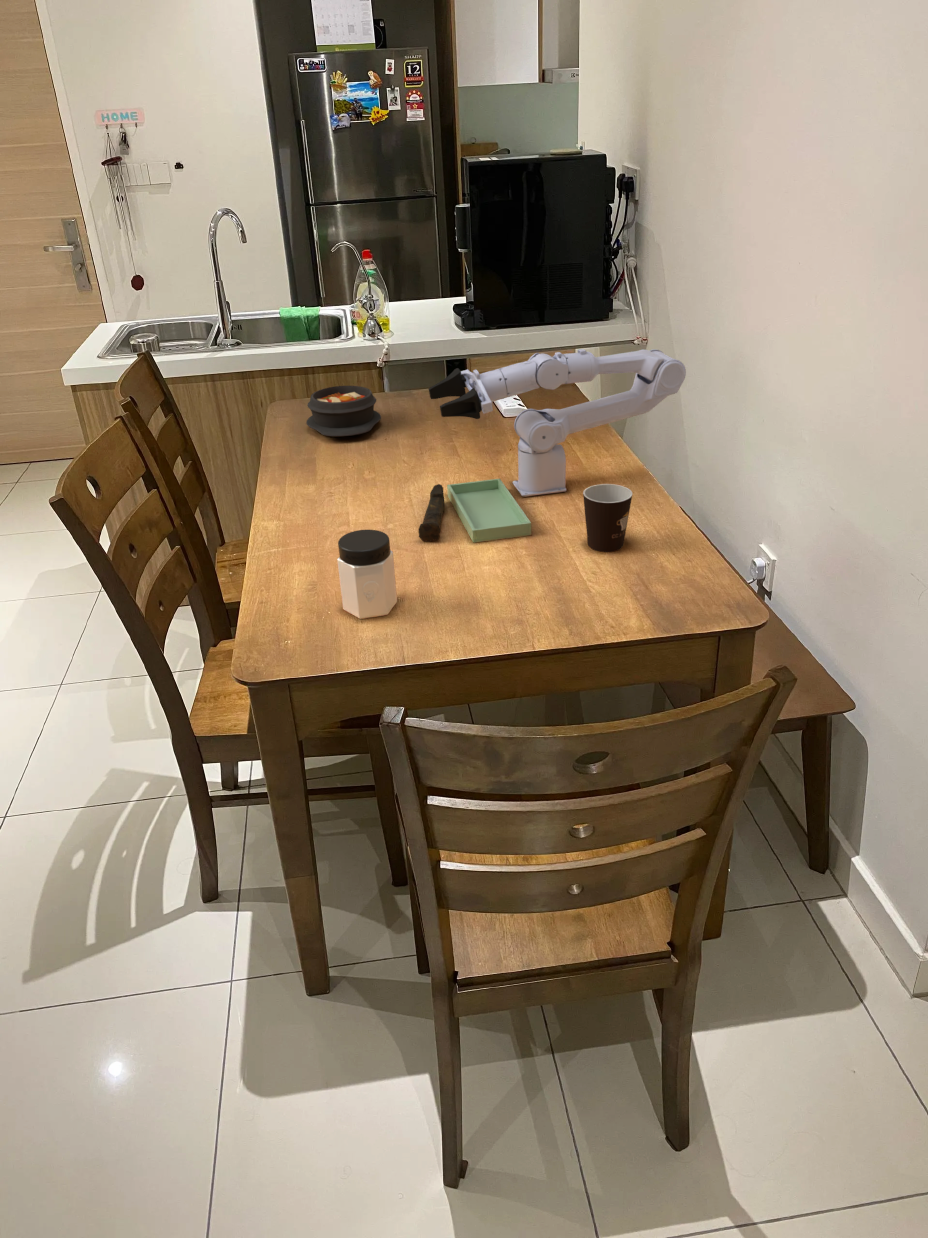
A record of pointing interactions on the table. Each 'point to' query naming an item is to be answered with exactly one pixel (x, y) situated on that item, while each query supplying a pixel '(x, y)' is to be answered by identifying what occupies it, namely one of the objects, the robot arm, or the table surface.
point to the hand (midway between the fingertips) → (435, 402)
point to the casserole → (342, 411)
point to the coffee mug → (606, 516)
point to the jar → (366, 573)
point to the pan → (488, 510)
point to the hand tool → (433, 515)
